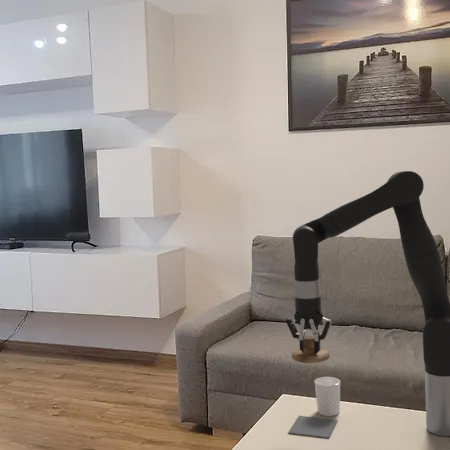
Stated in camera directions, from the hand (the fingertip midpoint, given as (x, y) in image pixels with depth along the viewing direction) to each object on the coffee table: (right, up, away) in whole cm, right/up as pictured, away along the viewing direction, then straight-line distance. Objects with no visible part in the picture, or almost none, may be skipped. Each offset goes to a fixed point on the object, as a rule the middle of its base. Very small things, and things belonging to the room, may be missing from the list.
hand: (310, 352), depth 171 cm
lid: (0, -1, 0) cm, 1 cm away
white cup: (+8, -22, +12) cm, 26 cm away
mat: (+1, -23, +2) cm, 23 cm away
